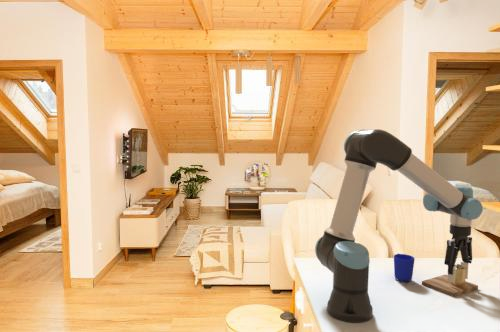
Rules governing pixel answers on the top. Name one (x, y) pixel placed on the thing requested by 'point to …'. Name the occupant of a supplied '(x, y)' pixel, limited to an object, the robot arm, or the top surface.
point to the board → (448, 286)
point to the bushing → (460, 277)
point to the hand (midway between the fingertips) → (457, 279)
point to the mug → (403, 267)
